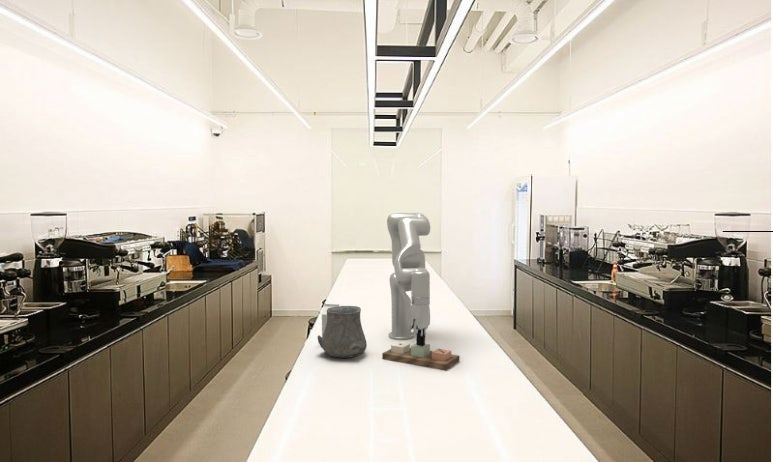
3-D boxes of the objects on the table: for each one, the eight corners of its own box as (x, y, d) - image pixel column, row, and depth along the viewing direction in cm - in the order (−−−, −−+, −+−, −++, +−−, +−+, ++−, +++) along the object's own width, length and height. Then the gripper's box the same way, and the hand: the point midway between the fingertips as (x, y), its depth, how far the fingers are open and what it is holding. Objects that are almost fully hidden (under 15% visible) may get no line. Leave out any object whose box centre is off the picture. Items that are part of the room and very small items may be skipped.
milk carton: (337, 347, 227) (336, 306, 225) (322, 347, 228) (321, 305, 227) (341, 343, 234) (341, 302, 232) (327, 342, 235) (326, 302, 234)
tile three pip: (431, 363, 202) (431, 351, 202) (438, 359, 207) (438, 348, 207) (445, 365, 199) (445, 353, 199) (451, 361, 204) (451, 350, 204)
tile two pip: (411, 356, 207) (411, 345, 207) (417, 353, 212) (417, 341, 212) (423, 359, 204) (423, 347, 204) (430, 355, 209) (430, 343, 209)
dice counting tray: (382, 359, 210) (382, 353, 210) (398, 351, 221) (398, 345, 221) (446, 370, 195) (446, 364, 195) (459, 361, 206) (459, 355, 206)
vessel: (330, 366, 201) (330, 317, 200) (312, 352, 221) (311, 306, 219) (379, 358, 211) (379, 311, 210) (357, 345, 231) (357, 301, 229)
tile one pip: (391, 356, 212) (391, 344, 212) (398, 352, 217) (398, 341, 217) (403, 358, 209) (403, 346, 209) (409, 354, 214) (409, 343, 214)
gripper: (420, 297, 215) (421, 339, 216) (403, 302, 202) (403, 348, 203) (436, 298, 211) (436, 341, 212) (420, 304, 198) (420, 350, 199)
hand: (420, 344), depth 208 cm, fingers closed
